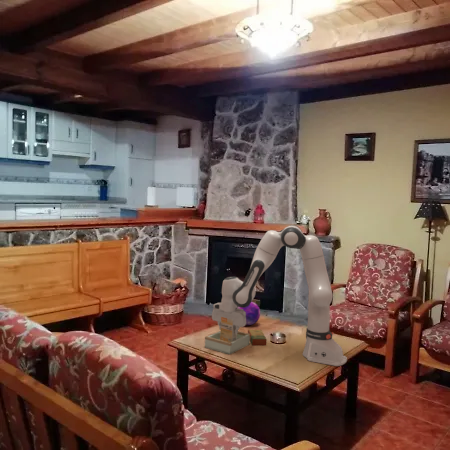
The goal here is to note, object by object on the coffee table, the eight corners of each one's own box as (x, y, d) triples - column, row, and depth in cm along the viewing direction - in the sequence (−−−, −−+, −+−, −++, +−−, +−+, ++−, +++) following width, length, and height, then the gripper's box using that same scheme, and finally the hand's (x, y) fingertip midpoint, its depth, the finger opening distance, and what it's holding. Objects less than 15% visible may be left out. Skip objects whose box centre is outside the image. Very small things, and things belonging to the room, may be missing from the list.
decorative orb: (251, 330, 270) (252, 305, 269) (231, 324, 279) (232, 301, 278) (264, 324, 282) (265, 301, 281) (244, 319, 291) (245, 297, 290)
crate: (249, 344, 245) (250, 334, 245) (229, 354, 228) (230, 343, 228) (225, 337, 254) (225, 327, 254) (204, 347, 237) (204, 336, 237)
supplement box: (219, 340, 242) (220, 316, 241) (224, 337, 245) (225, 314, 244) (231, 343, 237) (232, 319, 236) (237, 341, 241) (237, 317, 239)
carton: (261, 336, 260) (261, 329, 260) (266, 346, 244) (267, 338, 244) (247, 336, 259) (247, 329, 259) (251, 346, 243) (252, 338, 243)
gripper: (248, 308, 236) (247, 334, 237) (217, 302, 247) (216, 326, 249) (242, 311, 231) (241, 337, 232) (210, 304, 242) (209, 329, 243)
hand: (228, 331), depth 240 cm, fingers closed on supplement box, 8 cm apart
